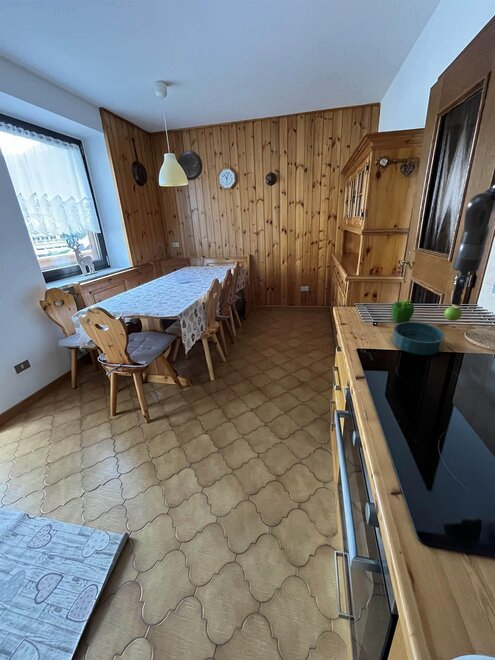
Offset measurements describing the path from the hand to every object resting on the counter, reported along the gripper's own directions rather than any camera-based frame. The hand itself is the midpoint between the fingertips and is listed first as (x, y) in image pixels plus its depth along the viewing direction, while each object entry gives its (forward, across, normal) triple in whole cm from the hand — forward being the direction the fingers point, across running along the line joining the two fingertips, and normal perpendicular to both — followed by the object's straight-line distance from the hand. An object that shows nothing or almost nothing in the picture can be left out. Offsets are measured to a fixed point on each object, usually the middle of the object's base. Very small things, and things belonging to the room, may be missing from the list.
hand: (455, 301), depth 105 cm
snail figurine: (+8, 0, 0) cm, 8 cm away
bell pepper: (+14, +3, +17) cm, 22 cm away
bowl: (+14, -15, +8) cm, 22 cm away
